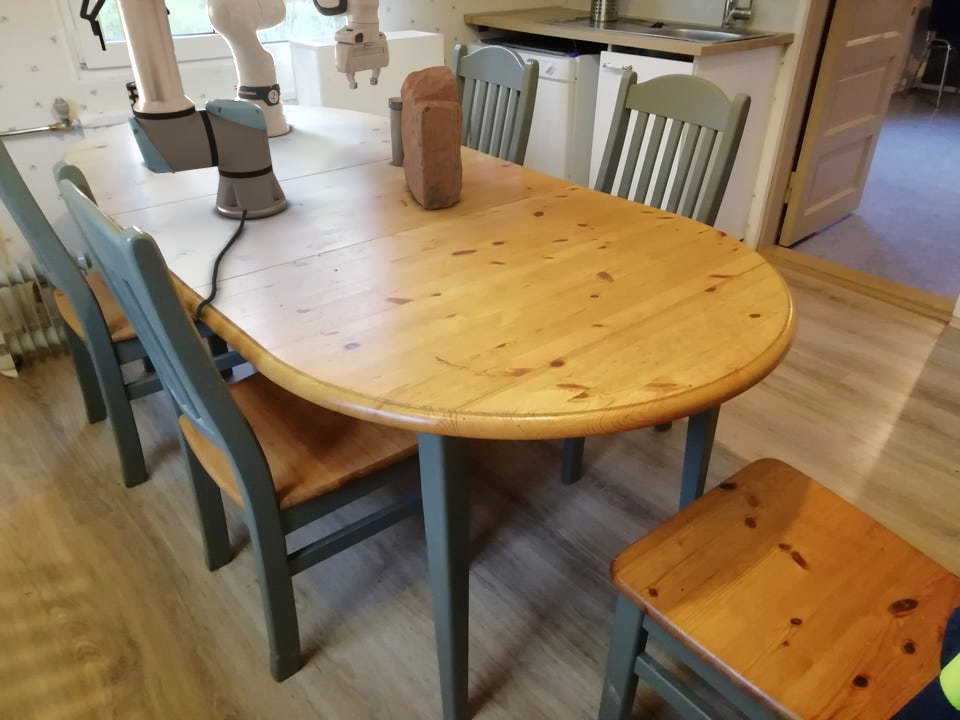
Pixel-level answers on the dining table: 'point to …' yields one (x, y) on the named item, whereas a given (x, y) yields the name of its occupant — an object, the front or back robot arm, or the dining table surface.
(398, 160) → the jar
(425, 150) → the stone
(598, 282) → the dining table surface
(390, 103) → the lid
